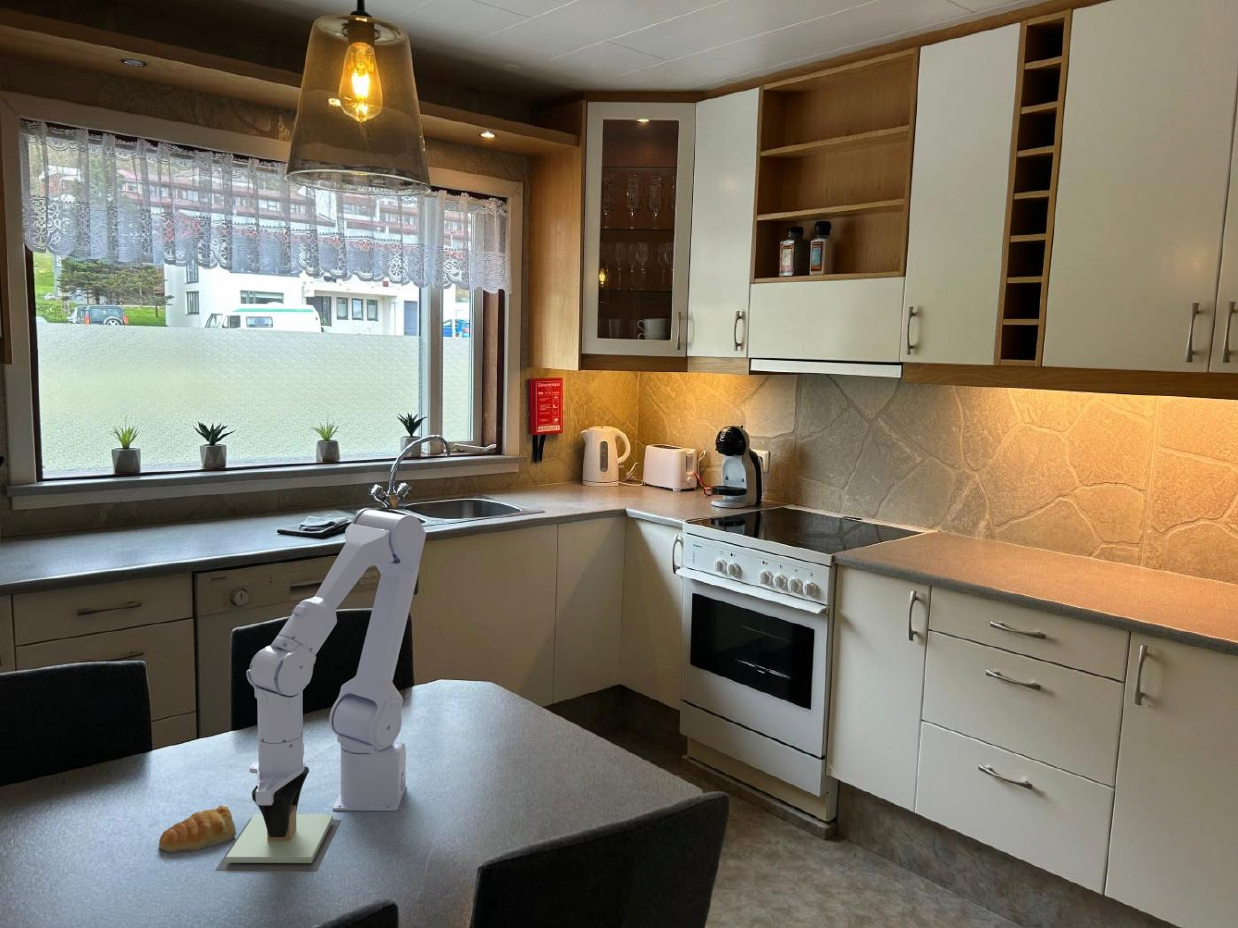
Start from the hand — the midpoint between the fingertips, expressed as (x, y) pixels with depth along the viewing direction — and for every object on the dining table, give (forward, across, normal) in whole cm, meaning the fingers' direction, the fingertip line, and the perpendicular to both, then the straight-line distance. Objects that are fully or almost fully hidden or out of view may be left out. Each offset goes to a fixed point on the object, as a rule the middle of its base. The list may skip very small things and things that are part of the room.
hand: (281, 828), depth 125 cm
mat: (+2, 0, 0) cm, 2 cm away
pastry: (+3, -1, -11) cm, 12 cm away
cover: (+2, 0, 0) cm, 2 cm away
